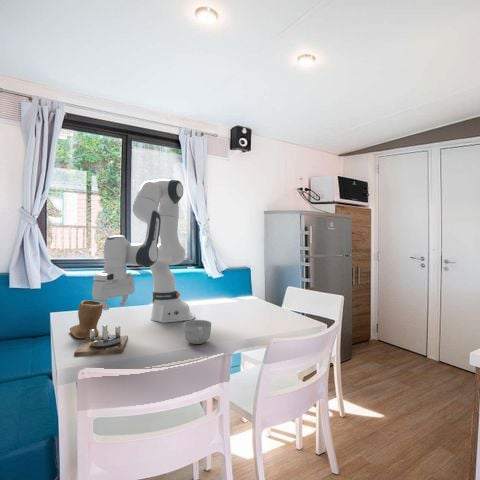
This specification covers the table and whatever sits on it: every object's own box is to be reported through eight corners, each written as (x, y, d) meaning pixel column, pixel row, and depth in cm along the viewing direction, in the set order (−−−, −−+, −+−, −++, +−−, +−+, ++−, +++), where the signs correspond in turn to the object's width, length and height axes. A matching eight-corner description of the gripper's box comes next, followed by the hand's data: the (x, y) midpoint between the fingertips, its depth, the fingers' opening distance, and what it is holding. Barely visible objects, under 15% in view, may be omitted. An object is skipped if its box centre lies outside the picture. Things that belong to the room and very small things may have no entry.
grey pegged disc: (119, 337, 133) (119, 323, 133) (121, 345, 123) (121, 330, 123) (89, 340, 128) (89, 326, 128) (88, 349, 118) (88, 334, 118)
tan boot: (106, 337, 139) (105, 301, 139) (75, 342, 132) (74, 305, 132) (97, 329, 152) (97, 296, 151) (69, 333, 145) (68, 299, 145)
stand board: (127, 339, 136) (127, 334, 136) (121, 353, 120) (121, 348, 119) (86, 341, 133) (86, 337, 133) (74, 356, 116) (74, 351, 116)
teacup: (185, 338, 137) (185, 319, 137) (211, 337, 138) (211, 318, 138) (182, 349, 123) (182, 328, 123) (211, 348, 124) (211, 327, 124)
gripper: (127, 272, 147) (126, 303, 147) (89, 276, 128) (89, 311, 128) (138, 272, 144) (138, 304, 144) (101, 276, 125) (101, 313, 125)
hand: (114, 307), depth 136 cm, fingers open, 8 cm apart
